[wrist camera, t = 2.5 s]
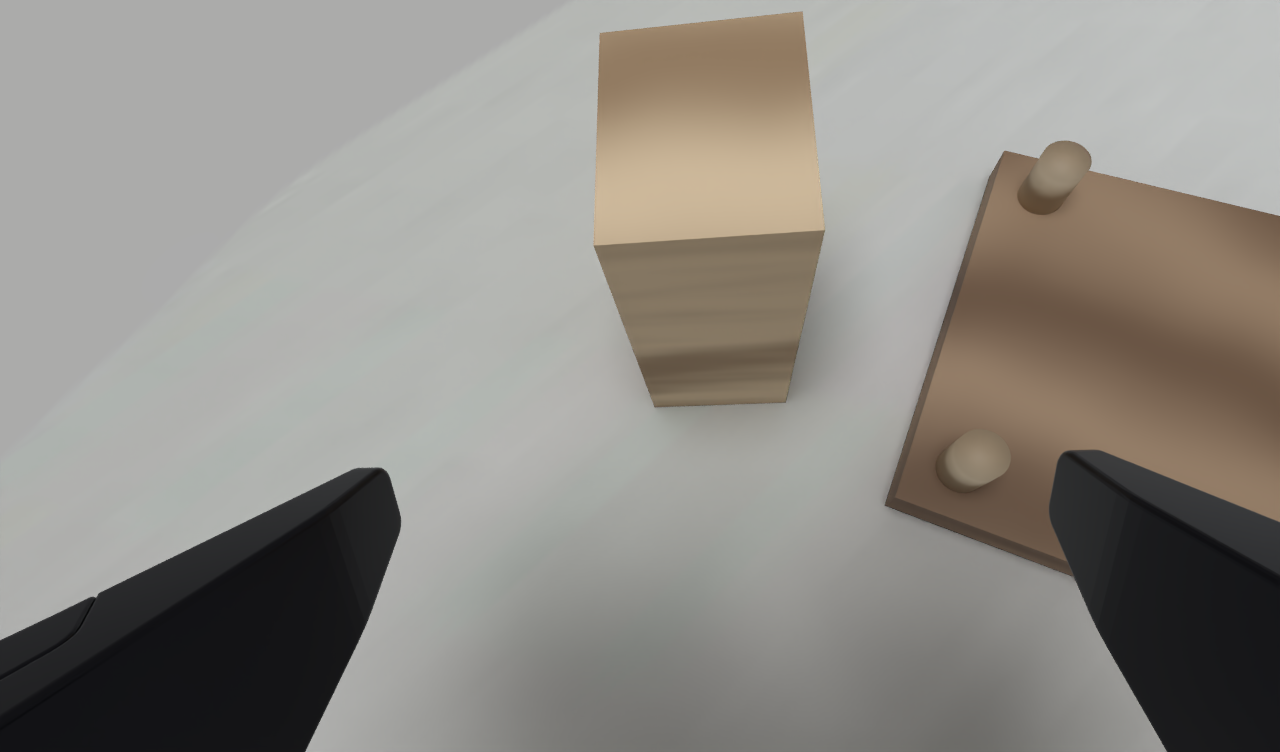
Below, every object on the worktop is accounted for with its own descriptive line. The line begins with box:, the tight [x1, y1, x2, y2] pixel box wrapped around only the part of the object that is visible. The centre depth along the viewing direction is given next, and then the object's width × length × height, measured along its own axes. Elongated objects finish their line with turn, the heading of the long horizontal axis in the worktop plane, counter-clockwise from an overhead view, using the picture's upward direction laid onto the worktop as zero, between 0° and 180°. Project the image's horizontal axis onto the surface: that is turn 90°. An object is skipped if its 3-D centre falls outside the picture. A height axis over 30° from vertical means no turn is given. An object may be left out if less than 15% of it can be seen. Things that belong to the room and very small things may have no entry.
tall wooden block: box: [594, 12, 825, 407], centre depth 19 cm, size 6×4×11 cm
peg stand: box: [885, 141, 1280, 577], centre depth 20 cm, size 13×12×4 cm
